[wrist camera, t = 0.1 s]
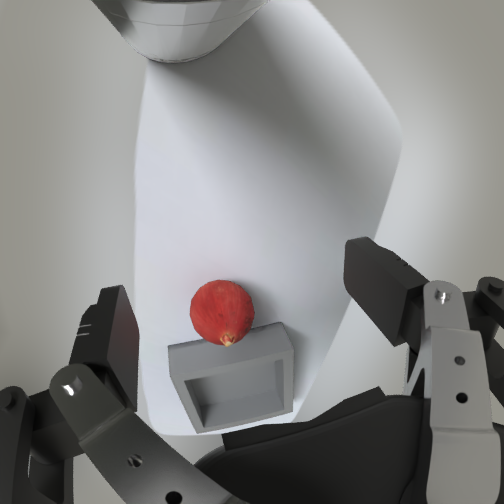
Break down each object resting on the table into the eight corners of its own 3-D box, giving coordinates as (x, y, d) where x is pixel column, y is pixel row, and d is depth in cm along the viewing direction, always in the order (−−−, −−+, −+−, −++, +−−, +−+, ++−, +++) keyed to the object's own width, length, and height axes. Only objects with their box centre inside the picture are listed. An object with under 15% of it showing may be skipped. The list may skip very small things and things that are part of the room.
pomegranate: (250, 267, 32) (274, 318, 25) (237, 313, 34) (256, 367, 27) (191, 261, 30) (200, 315, 23) (183, 309, 32) (191, 367, 25)
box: (167, 345, 34) (169, 375, 30) (280, 321, 36) (294, 348, 32) (192, 407, 40) (196, 433, 37) (282, 387, 43) (292, 411, 39)
